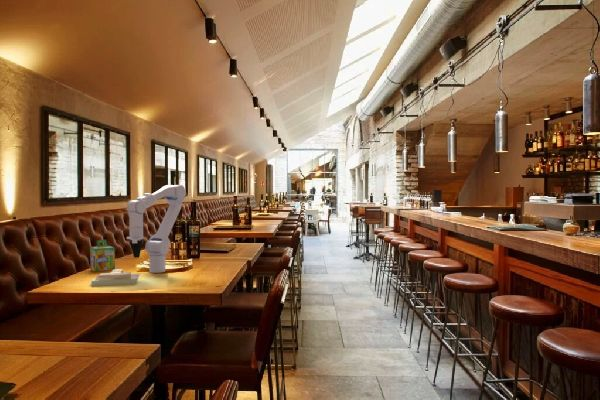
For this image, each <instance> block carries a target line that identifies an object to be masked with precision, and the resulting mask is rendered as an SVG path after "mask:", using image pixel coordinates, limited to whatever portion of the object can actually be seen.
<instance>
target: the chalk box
mask: <svg viewBox="0 0 600 400" xmlns="http://www.w3.org/2000/svg"><path fill="white" fill-rule="evenodd" d="M101 243H103V244H102V245H101ZM89 257H90V258H89V259H90V261H89V262H90V271H91V272H101V271H112V270H116V248H115V247H114V246H110V245H108V242H107V239H100V240H99V239H98V240H96V246H91V247H90V248H89Z"/></svg>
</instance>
